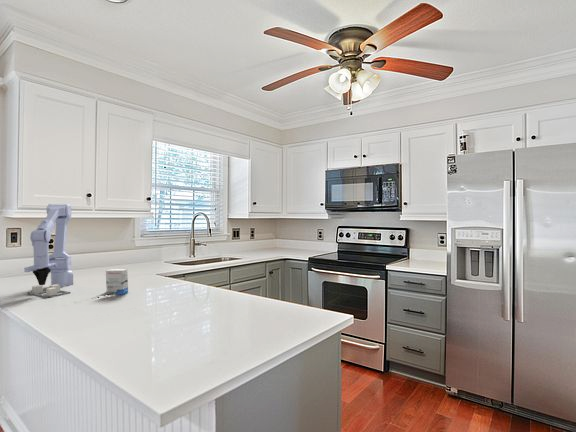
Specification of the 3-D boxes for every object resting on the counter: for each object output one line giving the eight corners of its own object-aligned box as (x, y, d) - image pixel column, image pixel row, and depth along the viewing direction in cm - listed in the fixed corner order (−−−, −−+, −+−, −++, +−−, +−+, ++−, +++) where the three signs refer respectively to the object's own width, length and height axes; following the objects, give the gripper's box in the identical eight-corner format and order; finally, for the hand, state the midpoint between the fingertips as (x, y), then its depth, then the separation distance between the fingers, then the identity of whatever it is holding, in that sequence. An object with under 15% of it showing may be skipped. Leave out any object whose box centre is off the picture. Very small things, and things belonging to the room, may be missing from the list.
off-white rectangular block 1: (39, 292, 167) (39, 284, 166) (42, 292, 165) (42, 285, 165) (32, 293, 164) (32, 286, 164) (35, 294, 162) (35, 286, 162)
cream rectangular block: (56, 291, 168) (56, 284, 168) (59, 292, 166) (59, 284, 166) (49, 292, 165) (49, 285, 165) (53, 293, 164) (53, 286, 164)
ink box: (128, 292, 170) (128, 268, 170) (122, 295, 165) (122, 270, 165) (112, 292, 171) (111, 268, 171) (105, 294, 166) (105, 270, 166)
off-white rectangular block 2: (53, 294, 161) (53, 287, 161) (57, 295, 160) (56, 287, 159) (46, 296, 158) (46, 288, 158) (50, 297, 157) (49, 289, 157)
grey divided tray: (50, 292, 172) (50, 288, 172) (70, 296, 164) (70, 291, 164) (27, 296, 163) (27, 292, 163) (47, 301, 155) (47, 296, 155)
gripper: (49, 253, 169) (49, 281, 169) (18, 257, 155) (19, 287, 155) (60, 253, 167) (61, 281, 167) (30, 258, 153) (31, 288, 153)
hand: (42, 284), depth 161 cm, fingers closed
